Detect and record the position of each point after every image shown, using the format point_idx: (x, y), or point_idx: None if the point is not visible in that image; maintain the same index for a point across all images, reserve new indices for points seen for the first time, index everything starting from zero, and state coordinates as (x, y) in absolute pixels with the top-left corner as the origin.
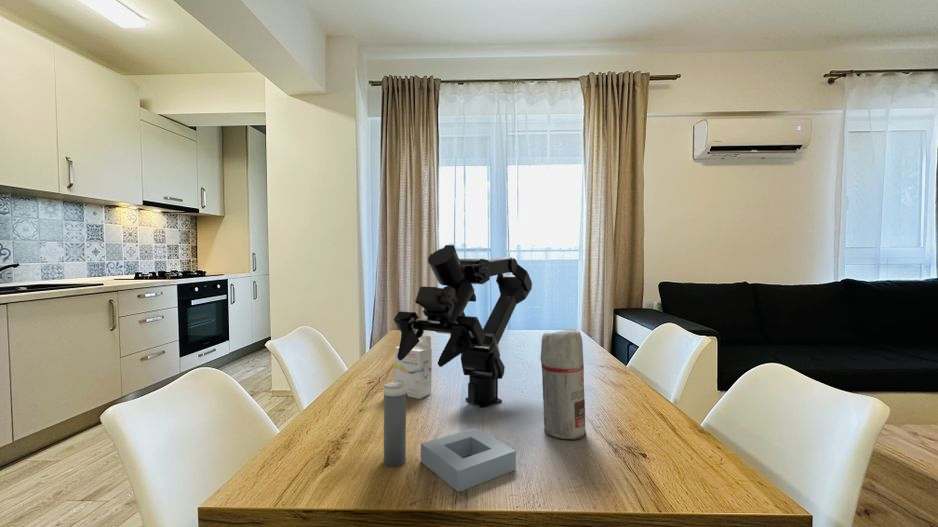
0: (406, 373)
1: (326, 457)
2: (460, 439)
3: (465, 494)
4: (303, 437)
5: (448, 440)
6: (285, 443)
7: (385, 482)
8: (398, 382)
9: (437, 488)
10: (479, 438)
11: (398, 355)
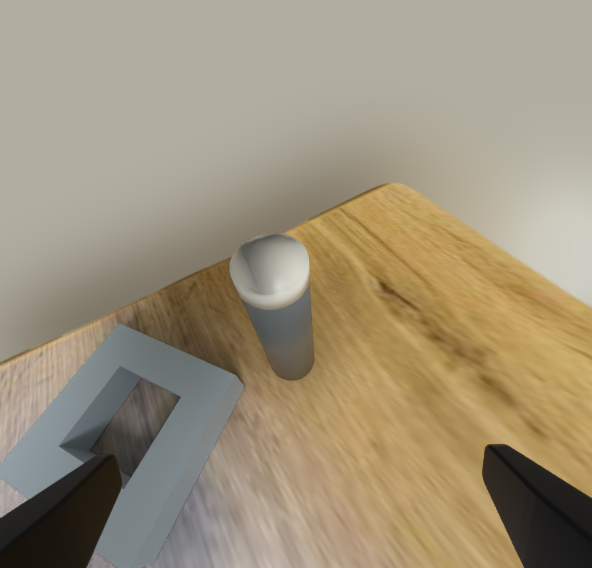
0: None
1: (413, 302)
2: (149, 451)
3: None
4: (550, 331)
5: (178, 426)
6: (538, 295)
7: None
8: (281, 290)
9: (174, 330)
10: None
11: (505, 449)
